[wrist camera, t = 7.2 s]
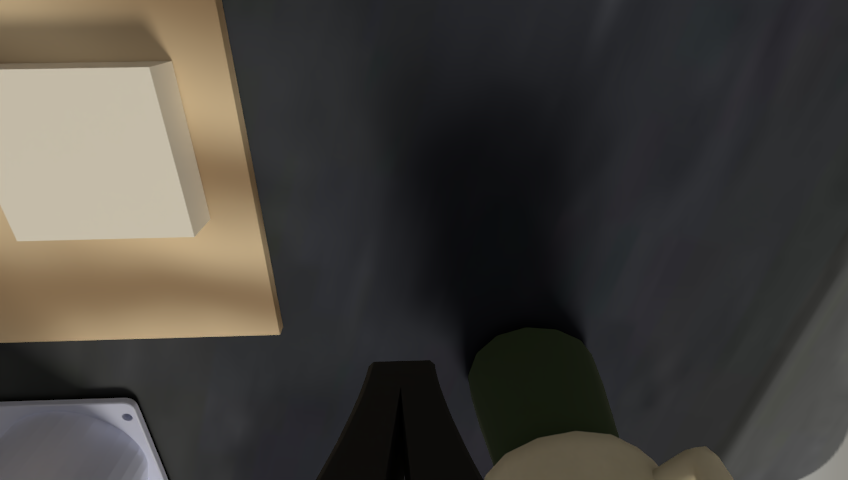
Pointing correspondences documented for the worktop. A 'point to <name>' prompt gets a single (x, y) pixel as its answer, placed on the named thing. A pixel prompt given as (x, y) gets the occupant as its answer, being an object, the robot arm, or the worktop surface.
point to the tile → (97, 152)
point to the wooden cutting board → (145, 257)
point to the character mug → (561, 416)
